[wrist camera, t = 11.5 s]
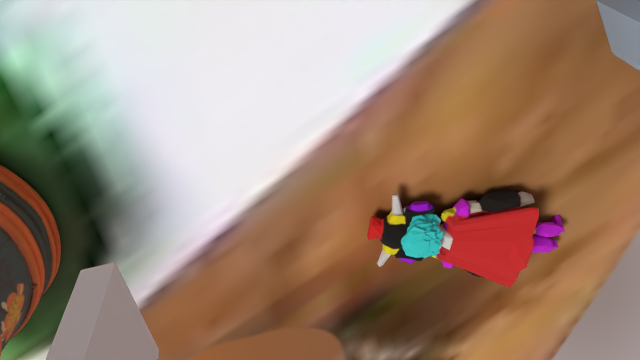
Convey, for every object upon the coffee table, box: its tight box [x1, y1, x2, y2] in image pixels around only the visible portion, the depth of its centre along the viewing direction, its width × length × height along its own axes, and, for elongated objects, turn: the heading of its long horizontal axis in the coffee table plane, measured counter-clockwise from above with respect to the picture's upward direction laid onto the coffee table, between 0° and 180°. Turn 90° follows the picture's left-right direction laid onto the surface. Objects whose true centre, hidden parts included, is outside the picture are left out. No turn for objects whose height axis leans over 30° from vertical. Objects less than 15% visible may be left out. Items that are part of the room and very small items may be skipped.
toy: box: [367, 189, 564, 287], centre depth 44 cm, size 8×4×15 cm
